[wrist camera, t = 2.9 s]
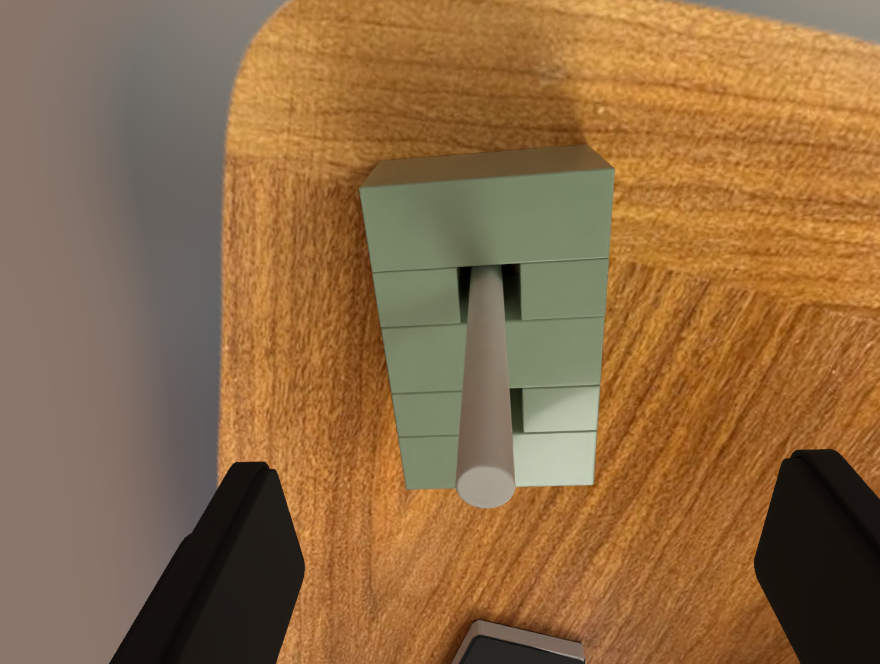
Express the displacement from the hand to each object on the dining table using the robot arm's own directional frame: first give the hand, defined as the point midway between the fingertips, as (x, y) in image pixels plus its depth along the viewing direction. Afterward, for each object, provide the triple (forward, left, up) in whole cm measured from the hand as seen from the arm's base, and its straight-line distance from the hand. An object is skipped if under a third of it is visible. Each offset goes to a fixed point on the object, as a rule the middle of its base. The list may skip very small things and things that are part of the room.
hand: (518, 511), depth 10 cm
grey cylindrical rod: (0, 0, -15) cm, 15 cm away
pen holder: (0, -3, -15) cm, 15 cm away
